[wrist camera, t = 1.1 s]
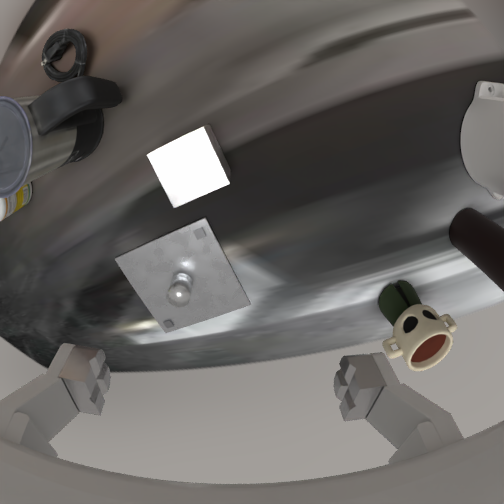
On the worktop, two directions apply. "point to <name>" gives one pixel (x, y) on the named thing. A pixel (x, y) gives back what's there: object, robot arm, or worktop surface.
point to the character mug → (415, 328)
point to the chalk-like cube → (191, 166)
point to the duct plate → (187, 261)
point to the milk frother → (53, 118)
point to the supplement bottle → (15, 201)
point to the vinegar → (480, 242)
